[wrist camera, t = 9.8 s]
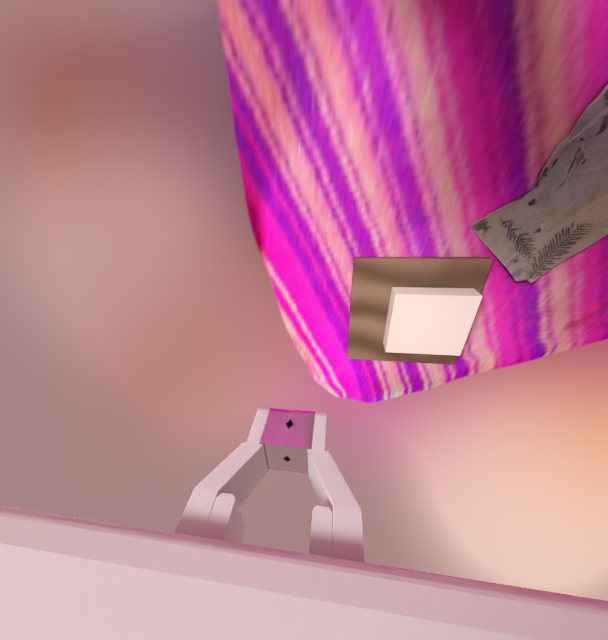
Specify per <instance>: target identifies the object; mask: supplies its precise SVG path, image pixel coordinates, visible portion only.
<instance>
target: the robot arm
mask: <svg viewBox="0 0 608 640" xmlns="http://www.w3.org/2000/svg"><path fill="white" fill-rule="evenodd" d="M326 433H327V413H321V412H312V411H299V410H283V409H274V408H265V407H259V409H258V410H257V413H256V417H255V419H254V422H253V425H252V428H251V432H250V434H249V437H248V440H247V442H243V443H242V444H241V445H240V446H239V447H238V448H237V449H235V451H233V452H232V453H231V454H230V455H229V456H228V457H227V458H226V459H225V460H224V461H223V462H222V463H221V464H219V465H218V466H217V467H216V468H215V469H214V470H213V471H212V472H211V473H210V474H209V475H208V476H207V477H206V478H205V479H204V480H202V481H201V482H200V483H199V484H198V485H197V486H196V487H195V488H194V490H193V493H192V495H191V497H190V499H189V501H188V504H187V506H186V508H185V510H184V513H183V515H182V517H181V519H180V521H179V523H178V526H177V528H176V530H175V532H168V531H161V530H155V529H149V528H143V527H136V526H130V525H123V524H117V523H111V522H104V521H98V520H92V519H86V518H79V517H73V516H66V515H60V514H54V513H47V512H42V511H35V510H28V509H23V508H16V507H10V506H3V505H0V640H608V601H603V600H597V599H591V598H584V597H578V596H572V595H566V594H559V593H553V592H546V591H540V590H534V589H527V588H521V587H515V586H508V585H503V584H496V583H490V582H484V581H477V580H471V579H465V578H458V577H452V576H446V575H439V574H433V573H427V572H420V571H414V570H408V569H402V568H395V567H389V566H383V565H376V564H370V563H364V548H363V535H362V534H363V533H362V517H361V509H360V508H359V506H358V504H357V502H356V500H355V498H354V496H353V495H352V493H351V491H350V489H349V487H348V485H347V483H346V482H345V480H344V478H343V476H342V474H341V473H340V470H339V469H338V467H337V465H336V463H335V461H334V459H333V458H332V456H331V454H330V452H329V451H326ZM268 469H275V470H287V471H294V472H300V473H307V474H308V475H309V478H310V480H311V483H312V485H313V488H314V490H315V493H316V496H317V498H318V501H319V503H320V506H316V507H315V508H314V509H313V514H312V526H311V536H310V547H309V554H307V553H300V552H294V551H288V550H281V549H275V548H269V547H262V546H256V545H249V544H244V543H242V540H243V536H244V532H245V528H246V525H245V522H244V520H243V518H242V515H241V512H240V509H239V508H240V506H241V505H242V504H243V502H244V501H245V500H246V499H247V497H248V496H249V495H250V493H251V492H252V491H253V490H254V488H255V487H256V486H257V484H258V483H259V482H260V481H261V479H262V478H263V477H264V475H265V474H266V473H267V472H268Z"/></svg>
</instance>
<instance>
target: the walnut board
mask: <svg viewBox="0 0 608 640" xmlns="http://www.w3.org/2000/svg"><path fill="white" fill-rule="evenodd" d="M492 262H493V259H491V258H490V257H354V262H353V276H352V290H351V304H350V318H349V332H348V346H347V359H365V360H384V361H403V362H422V363H441V364H455V362H456V359H457V356H453V355H432V354H412V353H391V352H385V349H384V345H383V337H384V331H385V325H386V318H387V312H388V306H389V300H390V294H391V288H392V287H430V288H474V289H475V290H476V291H477V292H479V293H480V294H481V291H482V289H483V286H484V283H485V281H486V278H487V275H488V273H489V270H490V267H491V264H492Z"/></svg>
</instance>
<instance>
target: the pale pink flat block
mask: <svg viewBox="0 0 608 640" xmlns="http://www.w3.org/2000/svg"><path fill="white" fill-rule="evenodd" d="M482 297H483V296H482V295H481V294H480V293H479V292H477V291H476V290H475V289H474V288H430V287H392V288H391V294H390V300H389V306H388V312H387V318H386V325H385V331H384V337H383V345H384V349H385V352H391V353H412V354H432V355H453V356H460V355H461V352H462V350H463V347H464V345H465V342H466V339H467V337H468V334H469V331H470V329H471V326H472V323H473V321H474V318H475V315H476V313H477V310H478V307H479V305H480V302H481V300H482Z"/></svg>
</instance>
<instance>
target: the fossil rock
mask: <svg viewBox="0 0 608 640" xmlns="http://www.w3.org/2000/svg"><path fill="white" fill-rule="evenodd" d="M472 230H473V232H475V234H476V235H477V236H478V237H479V238H480V239H481V241H482V242H483V243H484V245H485V246H486V247H487V248H488V249H489V250H490V251H491V252H492V254H493V255H494V256H495V257H496V258H497V259H498V260H499V261H500V262H501V263H502V264H503V265H504V266H505V267H506V268H507V269H508V271H509V272H510V274H511V275H512V276H513V278H514V279H515V281H523V280H526V279H527V281H529V282H530V283H531V282H534V281H535V280H537V279H538V278H539V277H540V276H541V275H542V274H544V273H546V272H548V271H549V270H550V269H551V268H552V267H554V266H556V265H557V264H559V263H560V262H562V261H564V260H565V259H567V258H569V257H570V256H572V255H574V254H576V253H578V252H580V251H582V250H583V249H585V248H587V247H589V246H590V245H592V244H594V243H595V242H597V241H598V240H600V239H601V238H603V237H605V236H606V235H608V84H607V85H606V86H605V88H604V89H603V90H602V91H601V92H600V93H599V95H598V96H597V97H596V98H595V99H594V100H593V101H592V102H591V103H590V104H589V105H588V106H587V107H586V108H585V109H584V111H583V112H582V114H581V115H580V117H579V119H578V120H577V122H576V124H575V125H574V127H573V128H572V130H571V131H570V133H569V135H568V136H567V137H566V138H564V139H563V140H562V141H561V142H559V143H558V144H557V146H556V147H555V150H554V151H553V153H552V155H551V156H550V157H549V159H548V161H547V163H546V164H545V166H544V167H543V169H542V171H541V174H540V176H539V182H538V186H536V187H535V188H534V189H532V190H531V191H529V192H528V193H527V194H526V195H525V196H524V197H522V198H521V199H518V200H514V201H512V202H510V203H508V204H506V205H504V206H502V207H500V208H499V209H497V210H496V211H492V212H491V213H489V214H488V215H486V216H484V217H483V218H481V219H479V220H478V221H476V222H475V223H474V224H473V225H472Z"/></svg>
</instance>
